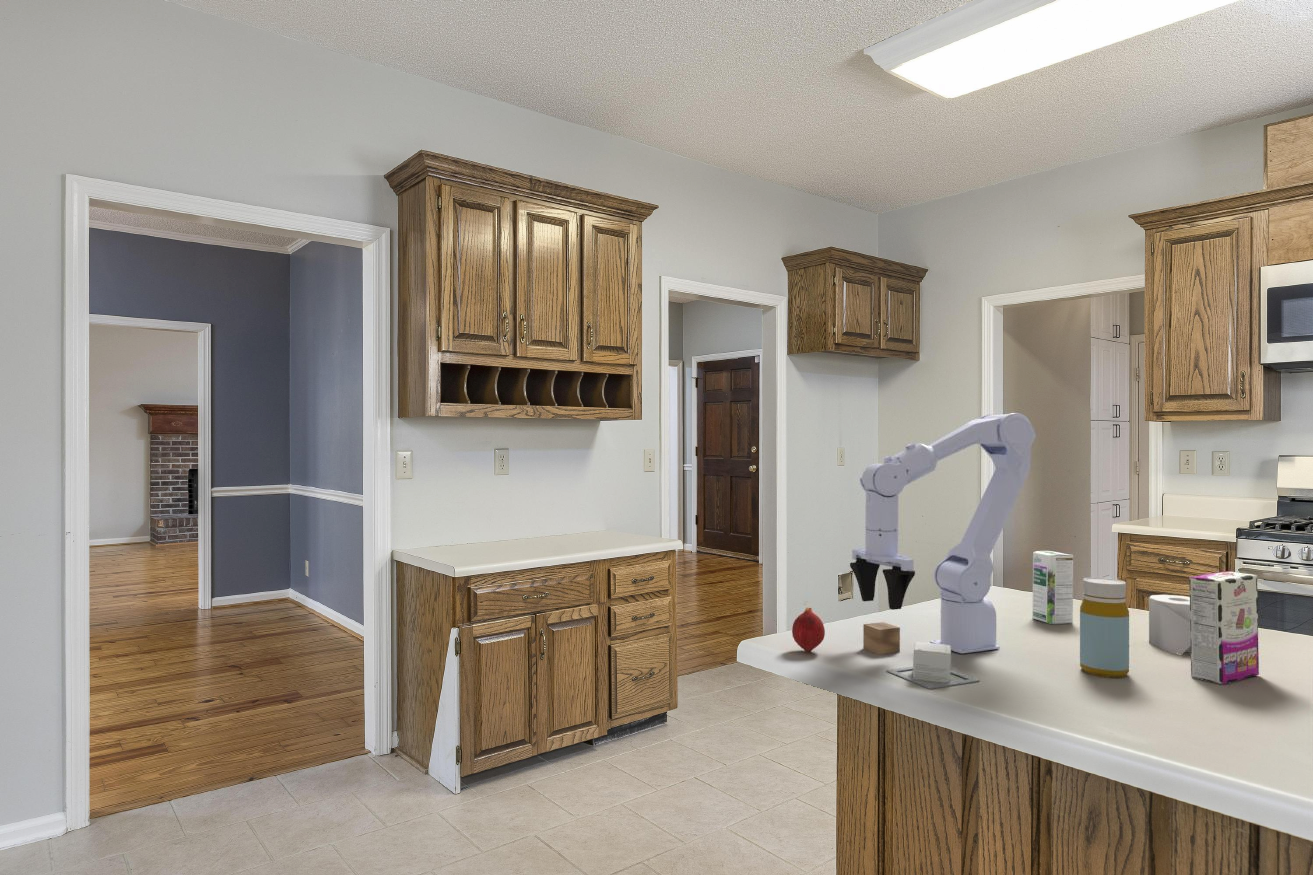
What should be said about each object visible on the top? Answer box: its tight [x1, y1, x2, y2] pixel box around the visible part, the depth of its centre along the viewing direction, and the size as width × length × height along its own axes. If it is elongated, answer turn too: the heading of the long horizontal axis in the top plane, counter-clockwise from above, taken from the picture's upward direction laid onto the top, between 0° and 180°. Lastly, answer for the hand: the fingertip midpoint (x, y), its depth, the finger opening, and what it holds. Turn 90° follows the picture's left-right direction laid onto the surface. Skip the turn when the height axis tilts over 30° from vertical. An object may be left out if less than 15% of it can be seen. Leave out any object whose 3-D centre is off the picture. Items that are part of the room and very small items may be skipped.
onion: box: [791, 606, 826, 653], centre depth 140 cm, size 6×6×8 cm
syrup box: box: [1031, 550, 1074, 625], centre depth 166 cm, size 6×6×14 cm
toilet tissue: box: [1148, 594, 1191, 656], centre depth 144 cm, size 9×13×9 cm
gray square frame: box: [885, 666, 980, 690], centre depth 126 cm, size 10×10×1 cm
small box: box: [912, 641, 952, 684], centre depth 126 cm, size 6×6×5 cm
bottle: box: [1079, 577, 1130, 679], centre depth 129 cm, size 7×7×15 cm
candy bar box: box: [1188, 571, 1260, 685], centre depth 127 cm, size 11×5×16 cm, turn 118°
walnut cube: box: [862, 621, 901, 656], centre depth 142 cm, size 4×4×4 cm
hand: (881, 604), depth 142 cm, fingers open, 7 cm apart
